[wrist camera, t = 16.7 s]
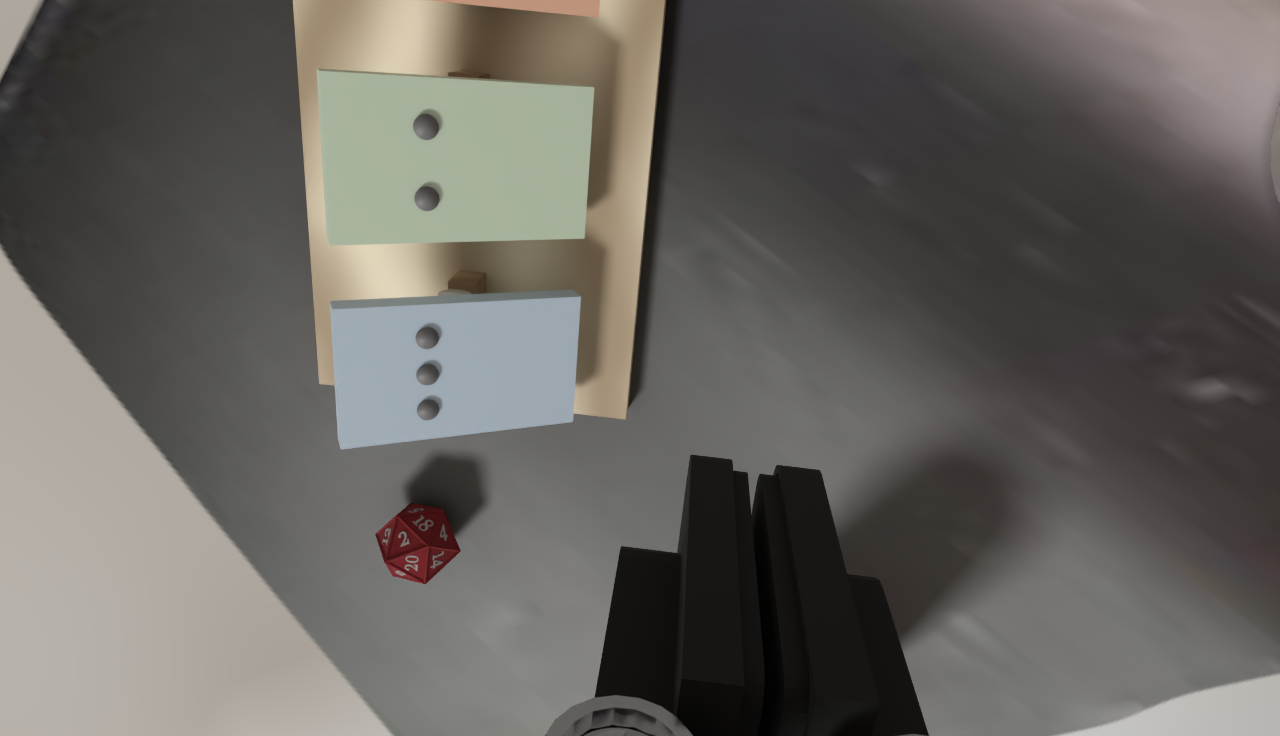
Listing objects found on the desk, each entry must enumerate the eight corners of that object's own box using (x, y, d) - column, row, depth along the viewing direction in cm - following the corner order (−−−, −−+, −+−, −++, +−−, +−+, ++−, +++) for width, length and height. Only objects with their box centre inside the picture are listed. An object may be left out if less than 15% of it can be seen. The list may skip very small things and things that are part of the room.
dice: (468, 557, 44) (446, 605, 41) (387, 542, 44) (358, 588, 41) (474, 499, 43) (452, 543, 39) (391, 483, 43) (361, 525, 39)
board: (681, -162, 31) (679, -181, 28) (628, 408, 40) (622, 436, 37) (293, -197, 31) (253, -219, 28) (329, 374, 41) (302, 399, 38)
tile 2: (571, 81, 34) (595, 87, 31) (564, 224, 36) (585, 239, 34) (312, 64, 29) (320, 71, 27) (322, 229, 32) (330, 246, 29)
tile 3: (562, 279, 37) (582, 297, 35) (555, 399, 39) (573, 422, 37) (326, 289, 33) (332, 310, 30) (334, 423, 35) (340, 450, 33)
